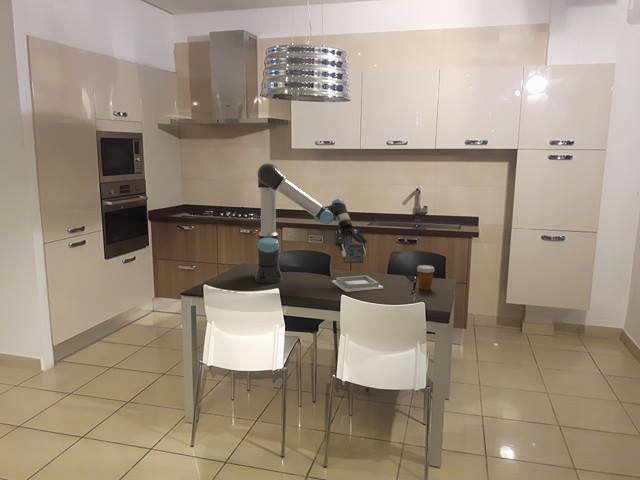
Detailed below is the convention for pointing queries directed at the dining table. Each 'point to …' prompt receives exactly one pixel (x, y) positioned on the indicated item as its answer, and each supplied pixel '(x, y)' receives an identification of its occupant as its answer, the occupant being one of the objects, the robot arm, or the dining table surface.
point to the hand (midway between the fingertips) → (354, 254)
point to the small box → (353, 252)
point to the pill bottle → (425, 276)
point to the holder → (356, 283)
